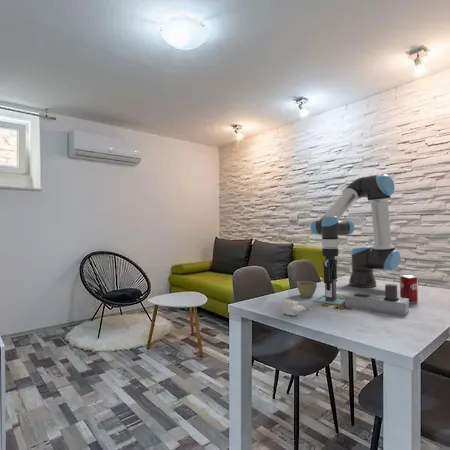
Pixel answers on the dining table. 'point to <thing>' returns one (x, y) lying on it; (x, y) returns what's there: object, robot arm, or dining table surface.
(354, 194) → the robot arm
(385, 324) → the dining table surface
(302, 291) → the flower pot
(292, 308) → the white lumpy piece
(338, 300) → the tray
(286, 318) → the dining table surface
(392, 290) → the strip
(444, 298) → the dining table surface
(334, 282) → the plug
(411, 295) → the soda can
